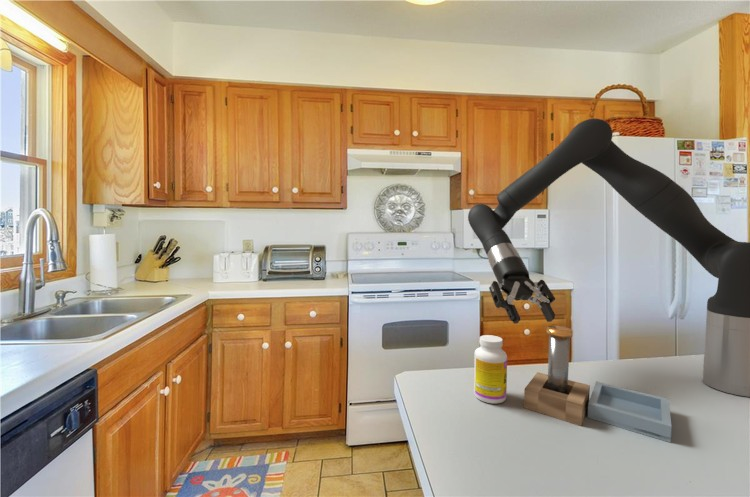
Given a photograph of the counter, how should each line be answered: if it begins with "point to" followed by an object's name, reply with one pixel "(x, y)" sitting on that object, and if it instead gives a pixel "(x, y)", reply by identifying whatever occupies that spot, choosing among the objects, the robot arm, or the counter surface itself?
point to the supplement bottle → (490, 370)
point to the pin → (558, 358)
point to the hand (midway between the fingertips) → (534, 321)
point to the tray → (631, 410)
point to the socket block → (557, 399)
